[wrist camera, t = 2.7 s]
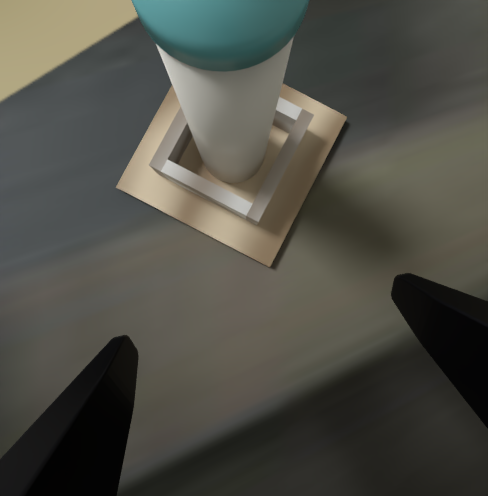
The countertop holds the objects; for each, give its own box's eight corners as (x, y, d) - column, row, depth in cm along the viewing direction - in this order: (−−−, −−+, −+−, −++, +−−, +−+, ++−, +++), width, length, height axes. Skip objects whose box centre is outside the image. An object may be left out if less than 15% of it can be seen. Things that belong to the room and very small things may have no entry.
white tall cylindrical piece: (279, 137, 20) (354, -95, 7) (247, 197, 19) (262, 78, 6) (218, 106, 20) (176, -187, 7) (186, 165, 19) (78, -17, 6)
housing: (344, 120, 20) (359, 101, 18) (269, 267, 20) (273, 268, 17) (198, 44, 20) (192, 14, 18) (119, 188, 20) (101, 179, 17)
